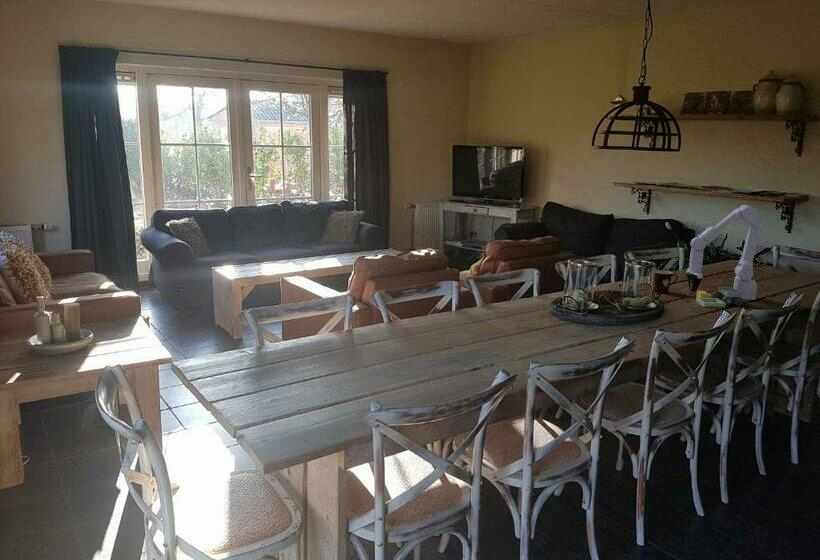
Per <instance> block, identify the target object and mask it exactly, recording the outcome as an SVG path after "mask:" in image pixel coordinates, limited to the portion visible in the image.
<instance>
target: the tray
mask: <svg viewBox="0 0 820 560" xmlns="http://www.w3.org/2000/svg"><path fill="white" fill-rule="evenodd" d="M695 302H696V304H699V306H701V307H702V308H718V309H719V308H722V309H724V308H726V306H727V305H726V303H724V302H723V301H722V300H719V299H718V298H714V297H712V298H695Z"/></svg>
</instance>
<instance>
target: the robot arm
mask: <svg viewBox="0 0 820 560" xmlns="http://www.w3.org/2000/svg"><path fill="white" fill-rule="evenodd" d="M743 220H744V221H745V222H746V224H747V225H748V226H749V227H748V231H747V234H746V235H747V236H746V239H745V242H744V246H743V250H742V253H741V257H740V259H739V261H738V263H737V265H736V266H735V268H734V274H735V276H734V280H733V281H734V282H733V287H732V288H734V289H736V290H738V291H740V292H741V298H743V300H747V301H749V300H750V301H752V300H753V301H754V300H757V296H756V295H757V289H758V284H757V282H756V280H755V279H752V278H753V277H754V271H753V269H754V262H753V261H754V259H755V254H756V250H757V247H758V242H759V239H760V236H761V235H760V234H761V231H762V227H763V222H762V218H761V217H760V215H759V212H758V210H756V208H754V207H753V206H750V205H749V204H742V205H740V206H739V207H737V208H735V209H734V210H733V211H731V212H730V213H729V214H727V216H726V217H723V219H722V220H721V221H720V222H718V223H717V224H716V225H715V226H707V227H705V230H704V231H702V233H700V234H697V236H696V237H694V238H692V239H691V241H690V243H689V244H690V247H691V248H690V252H689V254H690V255H689V263H688V268H687V270H686V271H685V273H686V275H685V276H686V278H687V281H688V282H687V283H688V289H690V288H691V283H692V291H697V289H698V290H699V286H700V283H702V280H703V279H704V276H703V275H704V274H703V272H702V271H703V270H702V269H703V260H704V249H705V248H706V247H707V245H708V244H710V243H711V242H712V241H714V240H715V239H716V238H718V237H719V236H720V232H721V231H722V230H724V229H726V228H727V227H728V226H729V225H732V224H733V223H734V222H739V221H743Z"/></svg>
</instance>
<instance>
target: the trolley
mask: <svg viewBox="0 0 820 560" xmlns="http://www.w3.org/2000/svg"><path fill="white" fill-rule="evenodd" d="M716 290H717V291H715V292H714V293H713V298H718V299H719V300H721V301H723V302H724V303H726V306H730V305H732V304H734V305H735V306H737V307H739V306H741V305H743V303H744V299H743V298H741V292H740V291H738V290H736V289H734V288H733V287H732V286H717V289H716Z"/></svg>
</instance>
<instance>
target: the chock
mask: <svg viewBox="0 0 820 560" xmlns="http://www.w3.org/2000/svg"><path fill="white" fill-rule="evenodd" d="M695 297H696V298H713V295H712V294H710V293H708V292H706V291H705V290H700V291H697V296H695ZM696 298H695V299H696Z"/></svg>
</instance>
